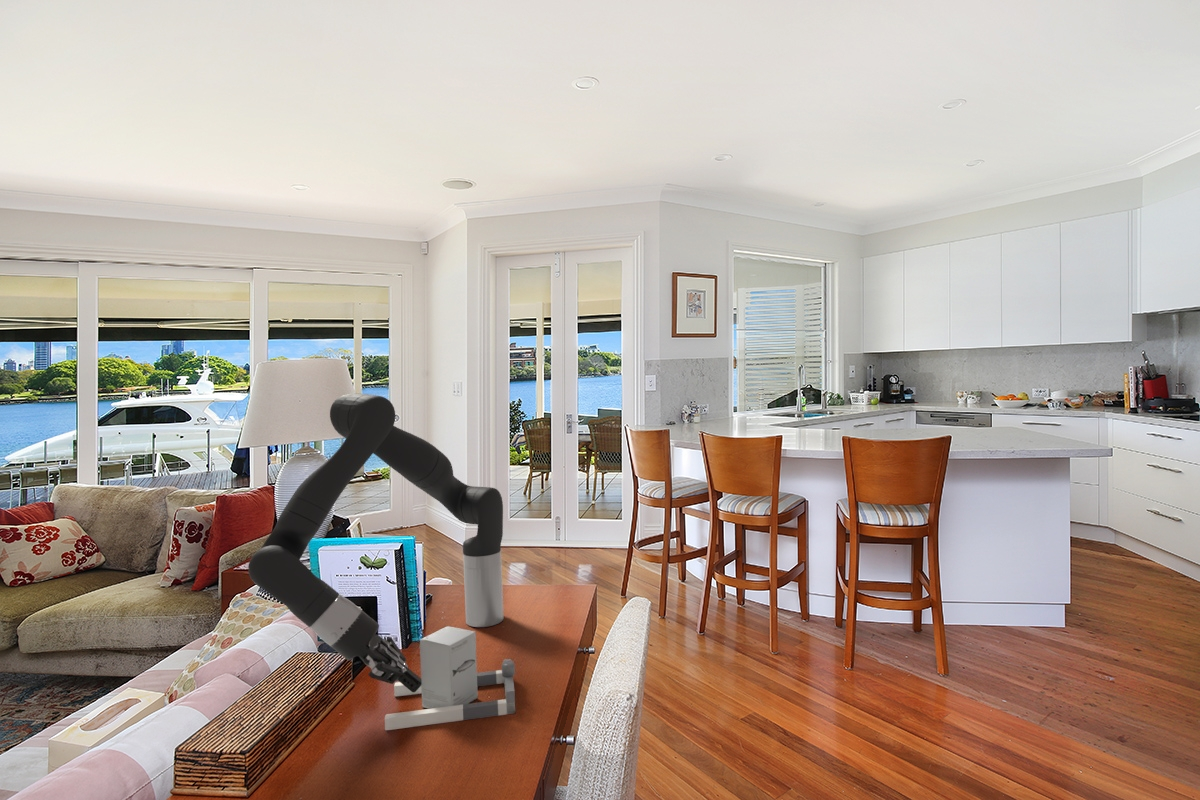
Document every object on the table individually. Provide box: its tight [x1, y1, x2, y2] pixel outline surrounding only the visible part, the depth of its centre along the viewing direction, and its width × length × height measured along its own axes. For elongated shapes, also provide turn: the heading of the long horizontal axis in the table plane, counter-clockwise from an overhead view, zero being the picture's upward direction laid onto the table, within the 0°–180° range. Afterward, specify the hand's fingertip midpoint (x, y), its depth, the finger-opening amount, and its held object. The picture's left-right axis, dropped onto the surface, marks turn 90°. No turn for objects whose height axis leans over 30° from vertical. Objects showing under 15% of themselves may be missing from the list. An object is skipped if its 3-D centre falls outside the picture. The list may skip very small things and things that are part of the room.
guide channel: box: [384, 658, 516, 731], centre depth 116 cm, size 14×22×6 cm, turn 101°
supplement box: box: [419, 626, 479, 709], centre depth 116 cm, size 7×7×13 cm
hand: (418, 686), depth 115 cm, fingers closed
